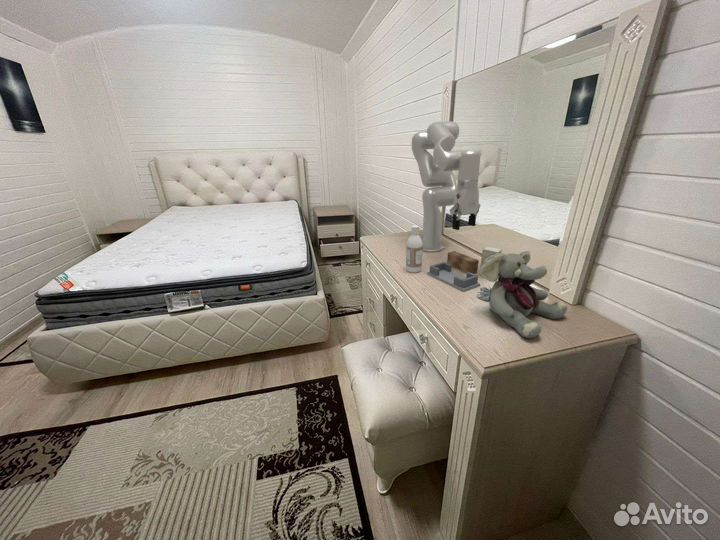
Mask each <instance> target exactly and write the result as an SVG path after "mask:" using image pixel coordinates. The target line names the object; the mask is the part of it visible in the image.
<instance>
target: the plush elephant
mask: <svg viewBox="0 0 720 540" xmlns="http://www.w3.org/2000/svg"><path fill="white" fill-rule="evenodd" d="M530 261H531V252H530V251H529V250H527V251H526V250H525V251H522V252H520V253H507V254H505V253H503V252H501V253H496V254H494V255H492V256H489V257H488V258H486V260H485V261H484V262H483V264H482V266H481V269H480V268H479V271H480V273H481V275H482V276H483V277H482V278H483V279H485V280H487V281H488V282H491V283H493V282H494V283H493V285H492V286H491V287H492V288H491V287H488V288H487V286H483V287H479V289H480V291H478V292H476V296H477V299H479V300H482V301H485V302H489V308H490V310H491V312H493V313H494V314H495V315H497V316H499V317H500V319H501V320H502V321H504V322H505V323H506V324H507V325H509V326H510V327H512V328H513V329H515V330H516V331H517V333H518V334H519V335H520V336H521V337H522V336H523V338H524V337H525V338H524V339H532V338H535V337H537V336H539V335H540V334H541V332H542V326H541V325H540V323H538V321H535V320H531V319H529V318H527V316H529V315H530V314H535V315H538V316H541V317H545V318H547V319H551V320H554V319H555V320H560V319H561V318H563V317H564V315H565V314H566V313H567V311H568V307H567V306H566V303H564V302H563V301H561V300H558V301H555V302H554V303H550V304H549V303H547V302H545V301H544V300H546V299H548V297H549V292H548V291H547V290H545V289H540V288H535V287H532V286H531V285H532V284H534V283H535V281H536V280H540V279H542V278H544V277H545V276H546V275H547V274H548V269H547V267H546V266H544V265H541V266H538V267H536V268H532V267H530V266H528V265H527V264H528V263H529V262H530Z"/></svg>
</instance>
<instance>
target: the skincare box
mask: <svg viewBox="0 0 720 540" xmlns="http://www.w3.org/2000/svg"><path fill="white" fill-rule="evenodd" d="M502 251H503V249H501V248H497V247H491V246H485V247H484V248H483V249H482V253H481V259H480V265H479V272H478V277H481V278H484V277H483V276H482V275H481V273H480V269H481V266H482V264H483V262H484V261H485V260H486V258H488V257H489V256H492V255H494V254H496V253H503V252H502Z"/></svg>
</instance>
